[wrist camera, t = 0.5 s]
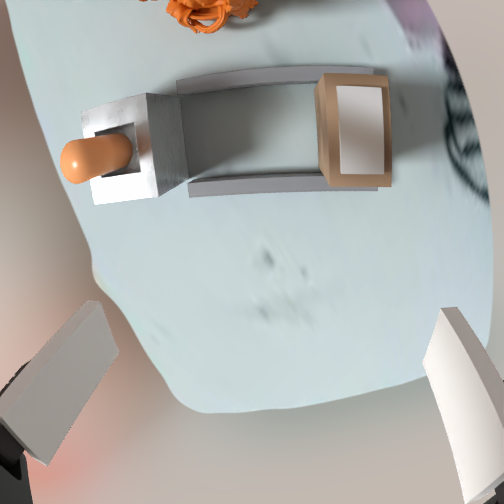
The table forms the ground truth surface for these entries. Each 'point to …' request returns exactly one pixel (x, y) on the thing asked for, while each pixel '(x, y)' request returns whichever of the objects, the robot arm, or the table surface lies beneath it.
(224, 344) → the table surface
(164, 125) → the grey block with hole
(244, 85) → the guide channel
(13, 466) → the robot arm
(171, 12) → the orange figurine
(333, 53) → the table surface
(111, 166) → the orange rounded peg
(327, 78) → the carriage
